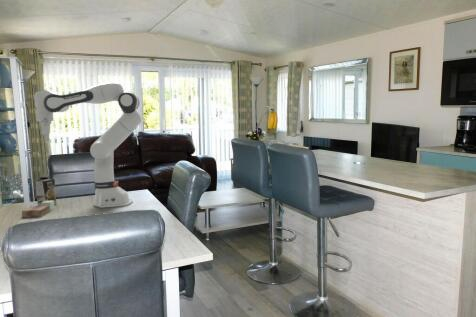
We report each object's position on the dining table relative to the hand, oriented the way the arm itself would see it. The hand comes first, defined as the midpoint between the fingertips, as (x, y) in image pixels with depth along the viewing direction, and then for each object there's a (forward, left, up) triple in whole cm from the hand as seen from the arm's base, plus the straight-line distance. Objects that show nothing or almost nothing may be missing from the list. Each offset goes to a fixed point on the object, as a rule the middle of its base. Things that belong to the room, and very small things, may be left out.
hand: (47, 141), depth 214 cm
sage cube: (0, +6, -39) cm, 40 cm away
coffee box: (+5, -4, -40) cm, 40 cm away
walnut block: (+2, +16, -40) cm, 43 cm away
